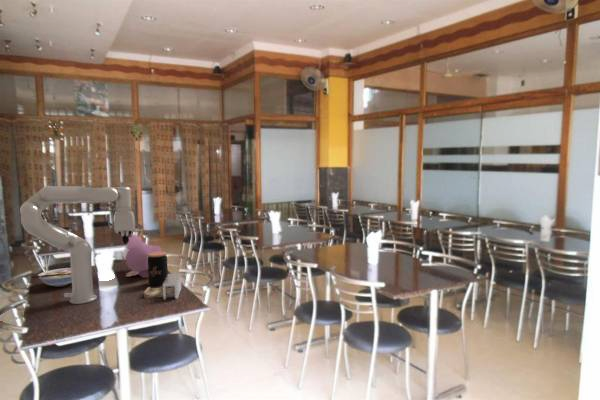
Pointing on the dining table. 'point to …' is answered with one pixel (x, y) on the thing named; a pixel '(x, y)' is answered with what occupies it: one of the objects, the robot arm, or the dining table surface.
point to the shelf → (172, 285)
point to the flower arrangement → (139, 256)
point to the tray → (157, 292)
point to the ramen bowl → (56, 277)
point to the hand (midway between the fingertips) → (125, 243)
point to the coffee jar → (157, 268)
